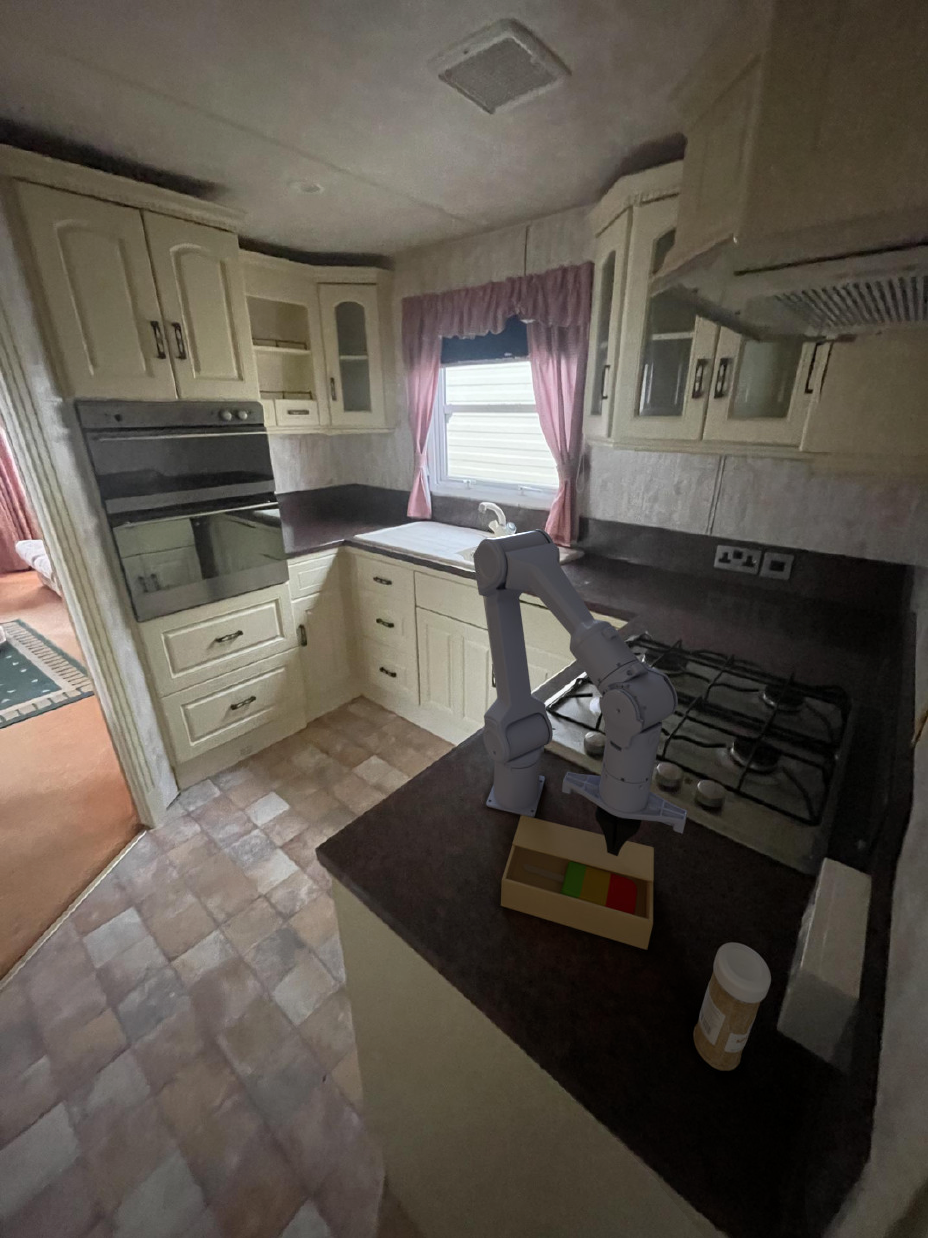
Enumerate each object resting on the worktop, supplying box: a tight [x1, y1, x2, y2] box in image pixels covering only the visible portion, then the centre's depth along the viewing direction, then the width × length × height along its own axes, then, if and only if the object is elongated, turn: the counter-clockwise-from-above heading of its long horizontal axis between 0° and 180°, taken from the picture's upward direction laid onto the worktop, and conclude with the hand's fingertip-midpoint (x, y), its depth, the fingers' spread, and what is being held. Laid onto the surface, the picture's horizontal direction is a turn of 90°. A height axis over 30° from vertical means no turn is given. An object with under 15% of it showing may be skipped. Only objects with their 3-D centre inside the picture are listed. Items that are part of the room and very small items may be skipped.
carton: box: [500, 844, 654, 951], centre depth 68 cm, size 11×18×5 cm, turn 71°
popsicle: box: [523, 861, 637, 915], centre depth 69 cm, size 6×15×2 cm, turn 68°
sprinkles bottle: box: [692, 942, 772, 1072], centre depth 50 cm, size 5×5×14 cm
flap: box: [512, 815, 655, 883], centre depth 69 cm, size 5×18×1 cm, turn 71°
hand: (614, 848), depth 66 cm, fingers closed
